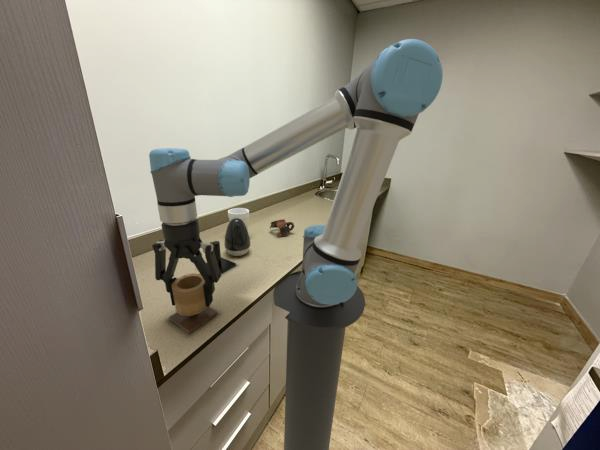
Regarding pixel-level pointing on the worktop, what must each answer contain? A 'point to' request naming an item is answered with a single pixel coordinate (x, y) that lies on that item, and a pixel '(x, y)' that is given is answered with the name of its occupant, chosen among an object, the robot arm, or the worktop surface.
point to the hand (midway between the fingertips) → (192, 302)
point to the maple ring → (189, 294)
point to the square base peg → (222, 259)
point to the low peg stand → (192, 320)
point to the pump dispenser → (237, 238)
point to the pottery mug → (282, 227)
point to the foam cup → (239, 215)
